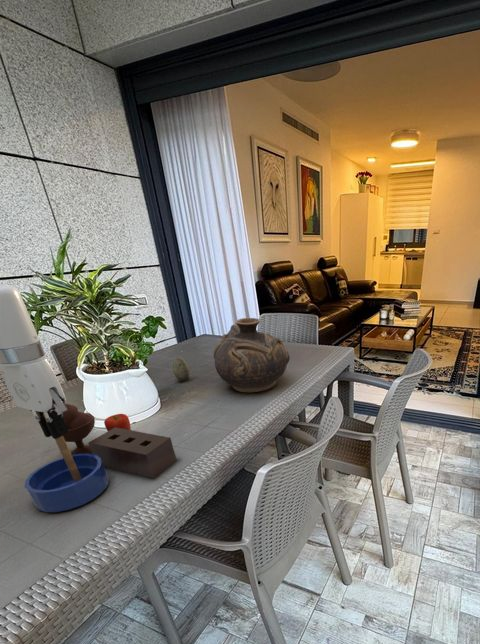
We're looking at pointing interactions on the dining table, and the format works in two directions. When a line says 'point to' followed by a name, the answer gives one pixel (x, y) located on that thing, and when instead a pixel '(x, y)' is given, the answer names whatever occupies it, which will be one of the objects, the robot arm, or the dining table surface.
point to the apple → (117, 422)
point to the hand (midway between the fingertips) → (57, 434)
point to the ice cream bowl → (78, 428)
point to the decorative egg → (181, 369)
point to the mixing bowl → (66, 483)
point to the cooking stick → (67, 457)
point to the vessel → (250, 357)
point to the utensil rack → (134, 452)
